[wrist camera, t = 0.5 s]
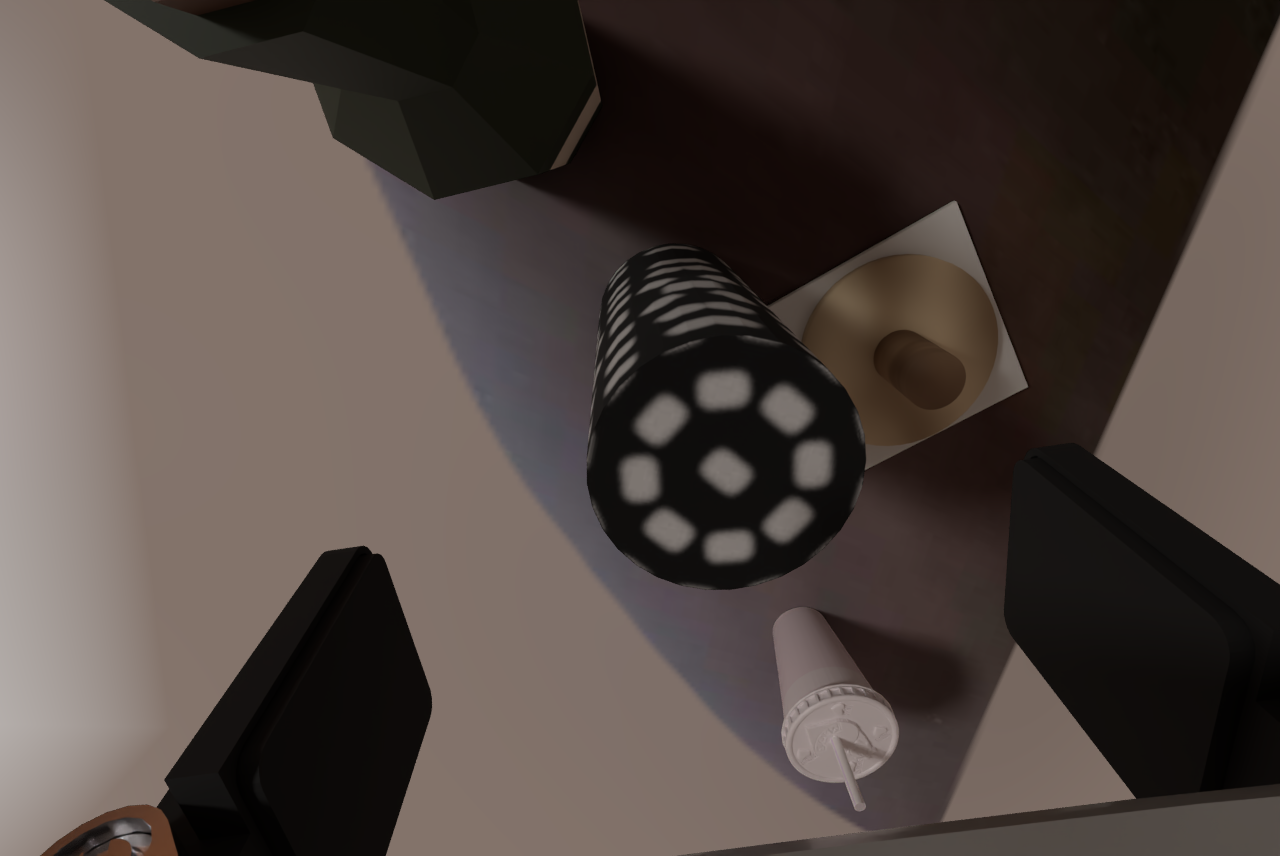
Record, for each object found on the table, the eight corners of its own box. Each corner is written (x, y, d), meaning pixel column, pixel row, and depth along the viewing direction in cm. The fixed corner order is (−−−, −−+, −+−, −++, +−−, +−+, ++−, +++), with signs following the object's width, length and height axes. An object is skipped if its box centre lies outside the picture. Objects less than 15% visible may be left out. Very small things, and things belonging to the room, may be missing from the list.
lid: (950, 215, 37) (1004, 225, 32) (1017, 383, 41) (1074, 417, 36) (766, 318, 39) (789, 344, 34) (846, 471, 43) (877, 515, 38)
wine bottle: (615, 11, 34) (623, -631, 6) (590, 191, 37) (517, 329, 9) (439, -24, 33) (-510, -960, 5) (429, 163, 36) (-204, 216, 8)
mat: (953, 201, 38) (956, 201, 37) (1024, 384, 42) (1028, 386, 41) (753, 313, 39) (754, 315, 39) (840, 479, 43) (841, 481, 43)
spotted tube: (778, 310, 39) (924, 454, 21) (679, 416, 42) (732, 633, 23) (667, 210, 37) (719, 271, 19) (569, 328, 39) (529, 488, 21)
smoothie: (784, 575, 46) (852, 744, 33) (865, 611, 47) (960, 787, 34) (735, 647, 48) (780, 832, 35) (813, 680, 49) (885, 870, 36)
